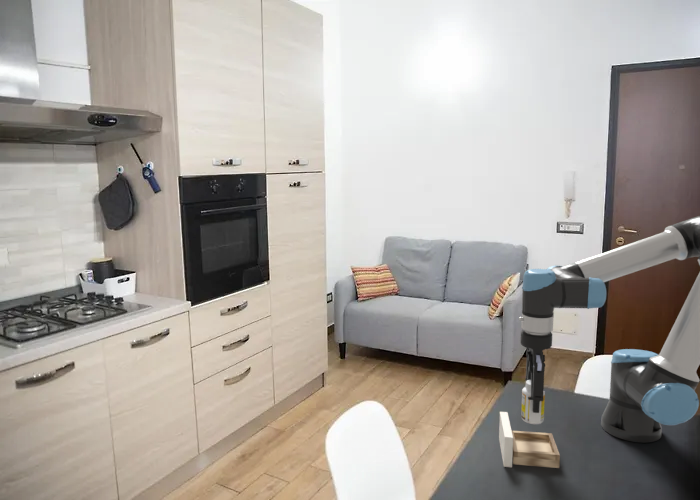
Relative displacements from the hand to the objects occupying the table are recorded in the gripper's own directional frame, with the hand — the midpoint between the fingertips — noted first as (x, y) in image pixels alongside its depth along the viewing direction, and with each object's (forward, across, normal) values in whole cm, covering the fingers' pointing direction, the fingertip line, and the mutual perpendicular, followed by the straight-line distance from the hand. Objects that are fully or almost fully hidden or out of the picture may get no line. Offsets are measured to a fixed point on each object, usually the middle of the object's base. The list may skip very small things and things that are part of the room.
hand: (532, 417), depth 138 cm
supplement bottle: (+1, 0, 0) cm, 1 cm away
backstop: (+10, 0, -6) cm, 12 cm away
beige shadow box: (+10, 0, 0) cm, 10 cm away
